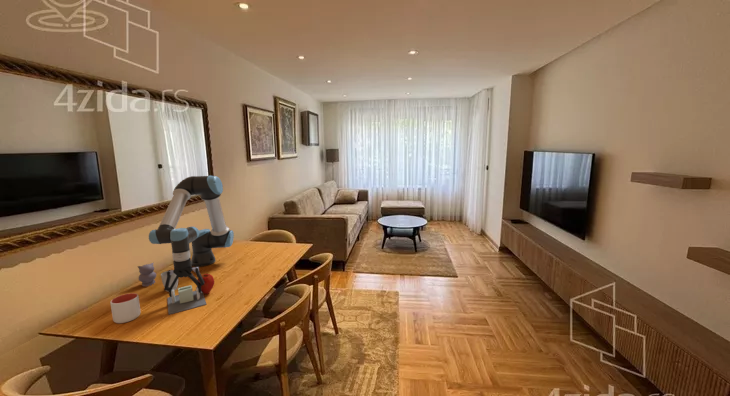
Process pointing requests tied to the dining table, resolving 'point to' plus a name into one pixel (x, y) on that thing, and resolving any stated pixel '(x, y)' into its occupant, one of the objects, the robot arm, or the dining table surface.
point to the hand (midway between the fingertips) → (186, 300)
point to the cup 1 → (125, 308)
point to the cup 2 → (164, 278)
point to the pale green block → (185, 294)
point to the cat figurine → (147, 274)
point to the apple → (207, 283)
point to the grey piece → (187, 305)
